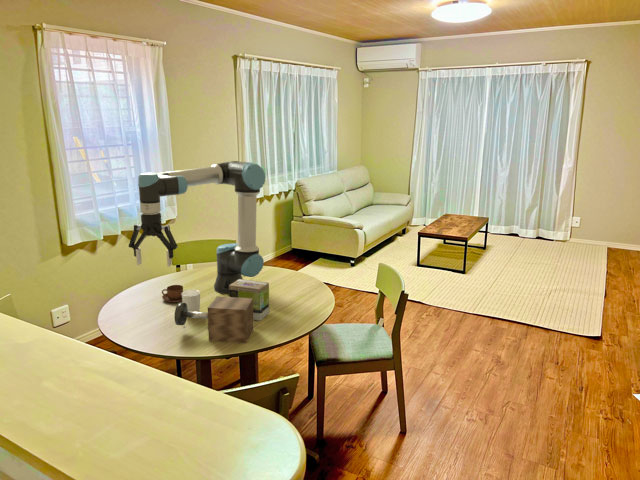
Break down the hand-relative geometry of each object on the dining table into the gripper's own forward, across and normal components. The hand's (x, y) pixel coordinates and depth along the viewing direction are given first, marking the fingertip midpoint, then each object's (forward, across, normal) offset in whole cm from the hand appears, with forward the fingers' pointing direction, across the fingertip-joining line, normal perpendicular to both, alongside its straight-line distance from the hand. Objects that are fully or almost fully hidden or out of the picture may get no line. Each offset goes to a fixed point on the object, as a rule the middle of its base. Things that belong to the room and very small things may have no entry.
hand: (154, 265), depth 194 cm
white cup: (+27, +10, +13) cm, 31 cm away
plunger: (+23, +19, -5) cm, 30 cm away
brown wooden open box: (+26, +33, -6) cm, 42 cm away
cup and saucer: (+27, -4, +28) cm, 39 cm away
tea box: (+27, +35, +16) cm, 47 cm away
